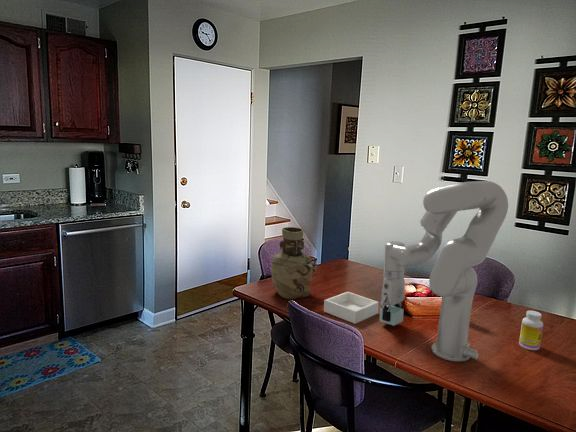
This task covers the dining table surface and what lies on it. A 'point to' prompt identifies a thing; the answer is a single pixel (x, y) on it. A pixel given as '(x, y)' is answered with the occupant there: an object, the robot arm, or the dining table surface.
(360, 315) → the white square tray
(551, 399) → the dining table surface
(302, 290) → the ceramic vessel
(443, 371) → the dining table surface
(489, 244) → the robot arm
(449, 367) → the dining table surface
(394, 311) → the small crate
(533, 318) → the supplement bottle
